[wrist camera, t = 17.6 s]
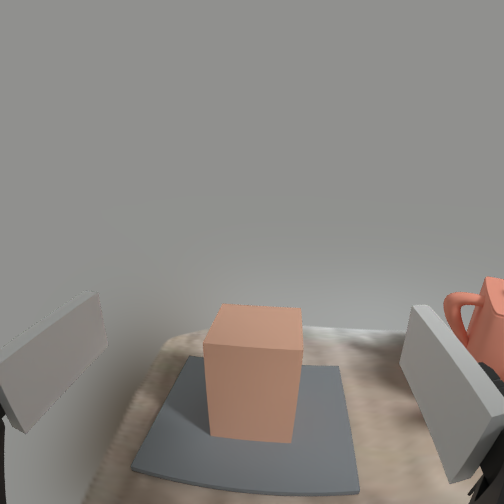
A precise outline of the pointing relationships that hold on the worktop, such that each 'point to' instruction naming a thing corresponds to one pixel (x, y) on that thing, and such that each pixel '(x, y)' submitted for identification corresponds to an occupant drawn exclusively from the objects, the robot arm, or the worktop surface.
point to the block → (253, 372)
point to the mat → (255, 442)
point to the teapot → (481, 323)
